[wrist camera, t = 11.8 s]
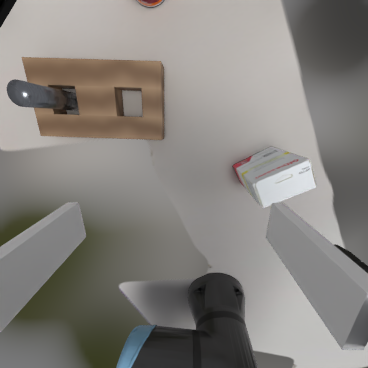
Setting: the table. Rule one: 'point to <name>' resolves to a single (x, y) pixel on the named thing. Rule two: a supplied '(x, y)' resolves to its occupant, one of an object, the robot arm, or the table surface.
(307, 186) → the ink box
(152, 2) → the pill bottle
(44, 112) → the socket block
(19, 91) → the pin
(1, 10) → the black stepped mount
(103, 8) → the table surface
